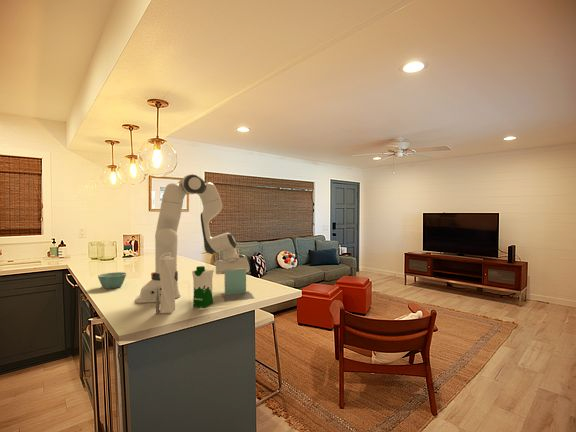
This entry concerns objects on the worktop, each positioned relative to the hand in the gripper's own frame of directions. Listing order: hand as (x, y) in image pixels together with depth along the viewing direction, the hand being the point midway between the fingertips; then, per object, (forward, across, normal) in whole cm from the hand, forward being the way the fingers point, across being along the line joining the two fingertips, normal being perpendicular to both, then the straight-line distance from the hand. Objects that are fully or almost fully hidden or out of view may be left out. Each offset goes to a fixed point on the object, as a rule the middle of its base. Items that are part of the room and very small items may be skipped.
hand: (234, 278), depth 175 cm
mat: (+13, 0, -1) cm, 13 cm away
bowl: (-23, -70, +36) cm, 82 cm away
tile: (+8, 0, +3) cm, 9 cm away
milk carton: (+19, -19, -7) cm, 28 cm away
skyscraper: (+21, -36, -9) cm, 43 cm away
